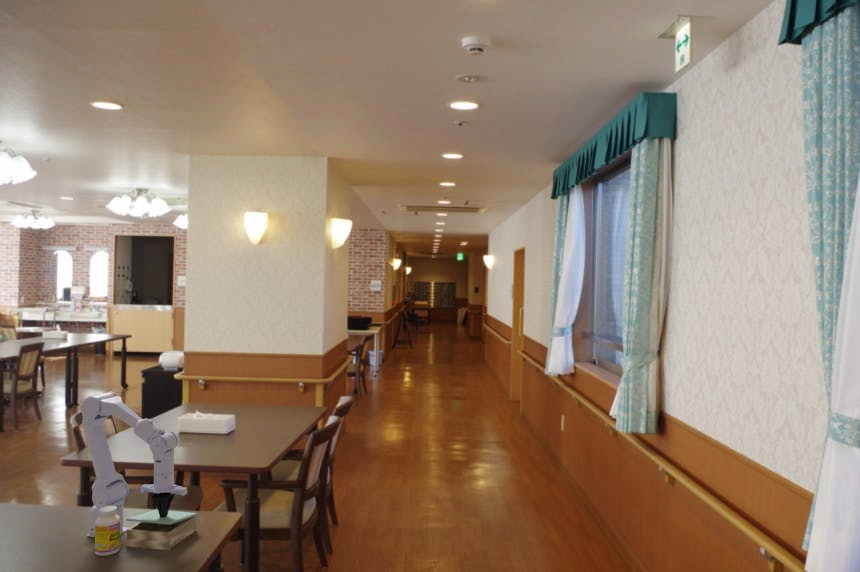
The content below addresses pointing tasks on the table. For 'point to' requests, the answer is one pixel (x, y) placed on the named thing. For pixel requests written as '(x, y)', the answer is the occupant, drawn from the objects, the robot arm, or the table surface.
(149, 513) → the lid
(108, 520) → the supplement bottle
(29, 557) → the table surface
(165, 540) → the box
